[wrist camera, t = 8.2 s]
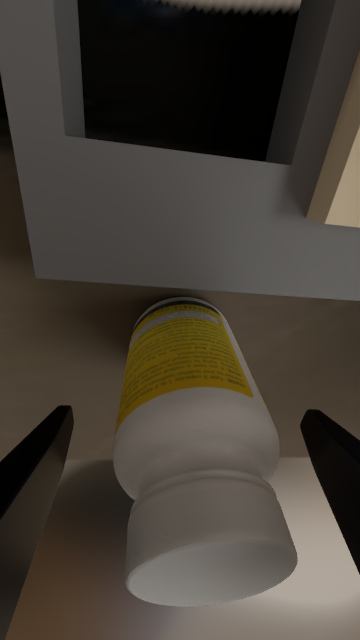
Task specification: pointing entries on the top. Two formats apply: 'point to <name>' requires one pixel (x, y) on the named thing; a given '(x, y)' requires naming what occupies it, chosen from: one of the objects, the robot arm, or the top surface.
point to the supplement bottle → (197, 463)
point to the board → (178, 172)
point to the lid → (341, 165)
